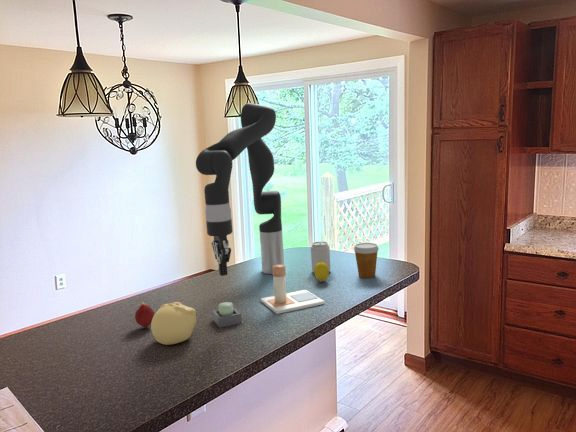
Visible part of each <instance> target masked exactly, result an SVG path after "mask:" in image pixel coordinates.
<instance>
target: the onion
mask: <svg viewBox="0 0 576 432" xmlns="http://www.w3.org/2000/svg"><path fill="white" fill-rule="evenodd" d="M155 313H156V312H155V311H154V309H153V308H152V307H151V306H149V305H147V304H146V303H145V302H141V305H140V306H139V307H138V308H137V310H136V311H135V313H134V320H135V323H136V324H137V325H140V326H141V327H142V328H144V327H147V328H148V327H149V326H151V322H152V319H153V316H154V315H155Z"/></svg>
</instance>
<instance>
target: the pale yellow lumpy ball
mask: <svg viewBox="0 0 576 432" xmlns="http://www.w3.org/2000/svg"><path fill="white" fill-rule="evenodd" d="M154 313H155V315H154V316H153V319H152V322H151V324H150V330H151V333H152V336H153V338H154V339H155V340H156V342H158V343H159V344H162V345H165V346H168V345H176V344H179V343H182V342H185V341H187V340H188V339H189V338H190V337H191V335H192V334H193V330H194V327H195V325H196V324H197V310H195V308H194V307H190V306H187V305H185V304H183V303H182V302H180V301H173V302H170V303H163V304H162V305H160V306H159V309H158V310H157V311H156V312H154Z"/></svg>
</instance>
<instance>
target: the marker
mask: <svg viewBox="0 0 576 432" xmlns="http://www.w3.org/2000/svg"><path fill="white" fill-rule="evenodd" d="M272 269H273V274H272V278H273V294H274V295H273V296H274V299H275V303H285V302H287V297H286V293H287V282H286V281H287V279H286V274H287V273H286V265H285V264H284V265H274V266H272Z"/></svg>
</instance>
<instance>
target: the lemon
mask: <svg viewBox="0 0 576 432" xmlns="http://www.w3.org/2000/svg"><path fill="white" fill-rule="evenodd" d="M313 274H314V277H315V278H316V279H317V280H318V281H319V282H321V283H323V282H324V281H326V280H327V279H328V277H329V275H330V271H329V268H328V266H327V264H326V263H324V262H322V261H320V262H319V263H317V264H316V266H315V268H314V272H313Z"/></svg>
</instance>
